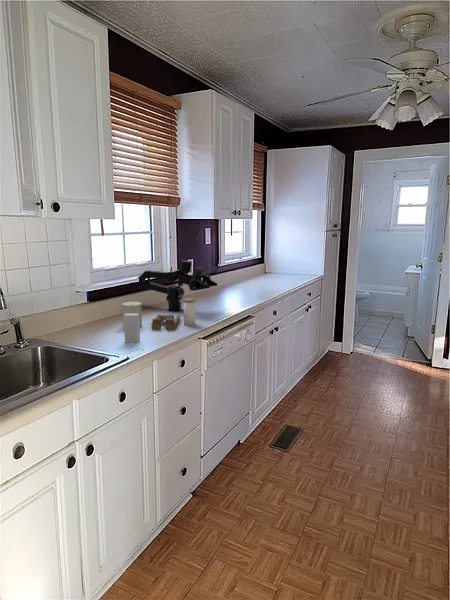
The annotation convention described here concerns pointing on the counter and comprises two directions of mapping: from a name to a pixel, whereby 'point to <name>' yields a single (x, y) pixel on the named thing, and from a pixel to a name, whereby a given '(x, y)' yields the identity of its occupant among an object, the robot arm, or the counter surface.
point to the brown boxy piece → (170, 323)
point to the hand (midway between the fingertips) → (213, 285)
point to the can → (132, 310)
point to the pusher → (164, 317)
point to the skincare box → (131, 327)
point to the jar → (189, 311)
